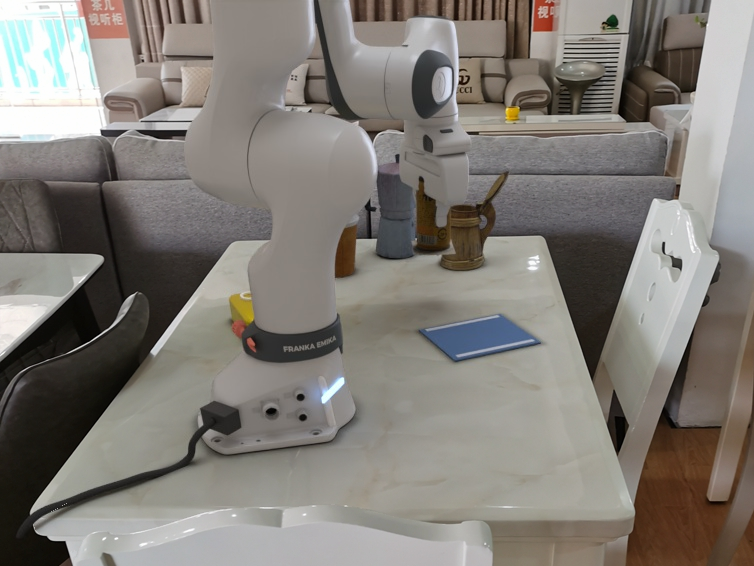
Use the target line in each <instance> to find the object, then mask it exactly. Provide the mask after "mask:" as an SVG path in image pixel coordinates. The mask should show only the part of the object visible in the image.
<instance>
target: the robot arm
mask: <svg viewBox="0 0 754 566" xmlns="http://www.w3.org/2000/svg"><path fill="white" fill-rule="evenodd" d="M208 2H209V8H210V9H209V11H210V18H211V19H210V21H211V29H212V41H213V42H212V43H213V60H212V68H211V69H212V70H211V77H210V82H209V87H208V91H207V95H206V98H205V101H204V103H203V106H202V107H201V110H200V111H199V112H198V114H197V115H196V116H195V117H194V118H193V120H192V121H191V122H190V124H189V126H188V128H187V130H186V133H185V138H184V143H183V158H184V162H185V168H186V170H187V173H188V175H189V178H190V179H191V181H192V182H193V184H194V185H195V186H196V187H197V189H199V190H200V191H202V192H203V193H205V194H207V195H209V196H212V197H214V198H216V199H218V200H220V201H223V202H225V203H228V204H230V205H233V206H240V207H247V208H254V209H259V210H266V211H270V214H271V218H272V219H271V220H272V226H271V227H272V229H271V235H270V240H269V241H267V242H265V243H264V244H262V245H261V246H259V247H258V248H257V249H256V250H255V251H254V252H253V254H252V256H251V257H250V259H249V261H248V263H247V264H248V265H247V278H248V279H247V280H248V285H249V291H250V293H251V300H252V306H253V313H254V319H253V321H252V322H251V323H250V324H249V325H248V326H247V325H246V323H245V322H244V321H242V320H236V321H235V322H233V323H232V324H231V330H232V332H233V333H234V334H235V336H236V337H237V338H238V339H241V343H242V347H243V350H242V351H240V353H239V354H237V356H235V357H234V358H233V360H231V362H229V363H228V364H226V366H225V367H224V368H223V369H221V370H220V372H218V373H217V374H216V375H215V376H214V378H213V380H212V383H211V389H210V402H209V403H207V404H205V405H203V406H201V407H199V412H198V415H197V427H198V429H197V430H196V431H195V432H194V433H193V434H192V436H191V438H190V439H189V442H188V447H187V454H186V455H185V456H184V457H182V458H181V460H179V461H177V462H176V463H174V464H172V465H169V466H165V467H162V468H158V469H153V470H148V471H144V472H141V473H137V474H135V475H131V476H128V477H126V478H125V477H124V478H122V479H119V480H115V481H112V482H109V483H106V484H102V485H99V486H95V487H93V488H90V489H87V490H85V491H81V492H80V493H77V494H75V495H73V496H69V497H68V498H64V499H62V500H59V501H55V502H52V503H49V504H47V505H44V506H41V507H40V508H38V509H37V510H35V511H33V512H32V513H31V514H30V515H29V516H27V518H26V519H25V520H24V521H23V522H22V524H21V525H20V527H19V529H18V530H17V532H16V535H15V538H16V539H23V538H24V537H26V536H27V535H28V532H29V530H30V529H31V528H32V526H33V525H35V523H36V522H37V521H39V520H40V519H41V518H43V517H44V516H46V515H48V514H51V513H53V512H56V511H58V510H62V509H64V508H67V507H71V506H73V505H75V504H78V503H81V502H83V501H86V500H88V499H90V498H93V497H96V496H99V495H102V494H105V493H108V492H111V491H115V490H118V489H122V488H124V487H127V486H130V485H133V484H134V485H135V484H136V483H139V482H142V481H146V480H149V479H154V478H155V479H156V478H159V477H162V476H164V475H167V474H170V473H173V472H175V471H178V470H180V469H183V468H185V467H186V466H188V465H189V464H190V463H191V462H192V461H193V460H194V458H195V456H196V452H197V450H196V449H197V444H198V442H199V441H200V439H201V438H202V440H203V442H204V443H205V444H206V445H207V446H208V447H209V448H210V449H212V450H214V451H215V452H217V453H219V454H222V455H235V454H243V453H251V452H258V451H266V450H274V449H281V448H290V447H296V446H305V445H311V444H319V443H320V444H321V443H327V442H331V441H333V439H335V437H336V436H337V433H338V431H339V430H340V429H341V428H342V427H344V426H345V425H346V424H348V423H349V422H350V421H351V420H352V419H353V418H354V416H355V414H356V412H357V411H356V410H357V409H356V404H355V402H354V399H353V397H352V394H351V391H350V388H349V385H348V380H347V376H346V373H345V367H344V362H343V357H342V355H343V354H344V348H343V347H344V346H343V345H344V333H343V326H342V322H341V321H342V320H341V315H340V314H339V313H337V298H336V297H337V296H336V295H337V293H336V277H335V256H336V250H337V246H338V242H339V240H340V237H341V234H342V232H343V230H344V228H345V226H346V225H347V223H348V222H349V221H350V219H351V218H352V217H353V216H354V215H356V214H357V215H358V213H359V212H361V211H362V210H363V209H364V208H365V205H366V204H367V202H369V201H370V199H371V198H372V195H373V193H374V190H375V188H376V186H377V182H376V181H377V174H378V156H377V153H376V149H375V146H374V144H373V141H372V140H371V137H370V136H369V134H368V133H367V131H366V130H365V129H364V128H363V127H361V126H360V125H357V124H355V123H352V122H351V121H363V120H365V121H366V120H386V121H403V132H404V133H403V135H404V137H403V138H402V139H401V141H400V144H399V154H400V158H399V175H400V179H401V181H402V182H403V183H405V184H407V185H409V186H410V187H412V188H413V196H414V200H415V203H416V196H417V192H418V190H419V188H418V185H419V179H418V178H419V176H422V177H423V178H424V192H425V194H426V195H427V196H429V197H431V198H433V199H435V200H436V206H437V211H436V214H435V215H434V224H435V225H436V226H438V227H444V226H446V224H447V214H448V212H449V209H450V206H453V205H460V204H465V202H466V200H467V197H468V191H469V177H470V176H469V175H470V162H469V161H470V160H469V157H468V154H467V153H468V152H470V151H471V149H472V139H471V136H470V135H469V133H467V132H466V131H465V129H464V128H463V126H462V124H461V122H460V121H459V107H458V102H457V90H458V86H459V81H460V60H459V59H460V57H459V45H458V34H457V29H456V24H455V22H454V21H453V20H451V19H450V18H448V17H447V16H441V15H434V14H418V15H414V16H411V17H409V18H408V19H407V20H406V22H405V23H406V24H405V31H404V40H403V43H401V44H400V45H398V46H380V45H379V46H375V45H367V44H365V43H363V42H361V41H360V40H358V39H357V37H356V35H355V34H356V33H355V29H354V21H353V16H352V9H351V4H350V0H209V1H208ZM316 29H317V31H316ZM317 34H318V38H319V43H320V49H321V53H322V58H323V65H324V80H325V81H324V82H325V90H326V95H327V98H328V101H329V102H330V104H331V106H332V108H333V109H334V110H335V111H336V113H337V114H338V115H339V116H340V117H341V118H340V117H336V116H333V115H331V114H327V113H320V112H307V111H295V110H287V109H286V94H287V88H288V83H289V81H290V77H291V75H292V73H293V71H295V70H296V69H297V68H299V67H300V66H301V65H303V64H304V62H305V61H307V59H309V57H310V56H311V54H312V52H313V50H314V47H315V45H316V39H317ZM342 118H343V119H342ZM66 503H67V504H66ZM64 504H65V505H64ZM62 505H63V506H62ZM57 508H58V509H57ZM55 509H56V510H55ZM53 510H54V511H53ZM51 511H52V512H51Z"/></svg>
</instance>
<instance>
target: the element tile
mask: <svg viewBox="0 0 754 566" xmlns="http://www.w3.org/2000/svg"><path fill="white" fill-rule="evenodd" d="M228 303H229V309H230V316H231V321H232V322H233V323H234V322H235V321H236V320H242V321H244V322H245V323H246V325H247V326H248V325H249V324H250V323H251V322H252V321H253V319H254V313H253V306H252V300H251V293H250V290H249V291H244V292H240V293H233V294H231V295H230V296H229V298H228Z"/></svg>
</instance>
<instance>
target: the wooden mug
mask: <svg viewBox="0 0 754 566" xmlns="http://www.w3.org/2000/svg"><path fill="white" fill-rule="evenodd" d="M510 174H511V172H510V170H506V171H504V172H503V173H501V174H500V175H499V176H498V177H497V178H496V180H495V181H494V183H493V184H492V185H491V187H490V188H489V190H488V192H487V194H486V196H485V199H484V201H481V202H476V204H475V205H472V204H465V203H463V204H458V205H451V235H450V236H451V241H452V244H453V247H454V250H455V252H456V254H449V255H445V254H444V255H440V265H441V266H442V268H445V269H448V270H452V271H453V270H454V271H468V270H469V271H470V270H475V269H477V268H480V267H481V266H483V265H484V262H485V254H484V247H485V243H486V242H487V239H488V237H489V236H490V234H491V232H492V230H493V229H494V227H495V224H496V220H497V215H496V214H497V212H496V208H495V206H494V205H493V203H492V202H493V200H494V199H496V197H497V196H498V195H499V193H500V192H501V190H502V189H503V187H504V186H505V184H506V182H507V181H508V178H509V176H510ZM481 216H484V217H485V219H486V225H485V226H484V227H482V228H481V226H480V224H481V223H482V222H483V219H482V217H481Z"/></svg>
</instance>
